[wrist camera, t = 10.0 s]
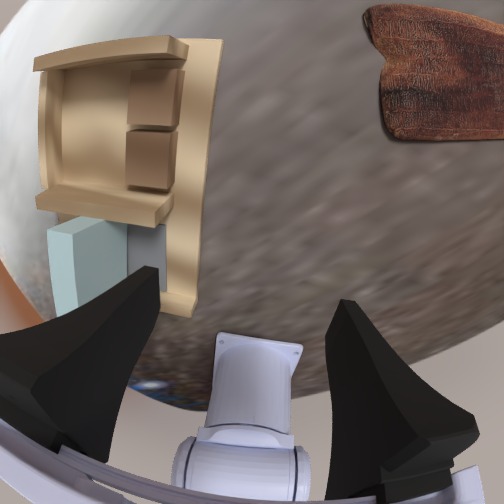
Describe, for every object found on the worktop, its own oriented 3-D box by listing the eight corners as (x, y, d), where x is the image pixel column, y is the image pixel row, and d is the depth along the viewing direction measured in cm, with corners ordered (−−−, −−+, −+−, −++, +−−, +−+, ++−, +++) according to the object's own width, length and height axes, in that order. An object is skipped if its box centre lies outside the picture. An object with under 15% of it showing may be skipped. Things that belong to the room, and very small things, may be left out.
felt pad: (167, 290, 23) (166, 291, 23) (87, 271, 23) (86, 273, 23) (166, 224, 20) (165, 225, 20) (78, 211, 20) (77, 212, 20)
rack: (197, 300, 24) (185, 334, 21) (72, 272, 24) (50, 297, 21) (224, 41, 14) (209, 26, 11) (61, 54, 14) (26, 53, 11)
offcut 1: (179, 123, 17) (170, 126, 15) (137, 121, 17) (126, 124, 15) (185, 71, 15) (177, 69, 13) (142, 71, 15) (131, 70, 13)
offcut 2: (174, 182, 19) (166, 189, 17) (135, 177, 19) (125, 184, 17) (178, 131, 17) (170, 134, 15) (136, 128, 17) (126, 131, 15)
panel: (127, 305, 22) (86, 354, 16) (107, 300, 22) (63, 345, 16) (128, 209, 20) (72, 234, 13) (105, 206, 20) (47, 229, 13)
